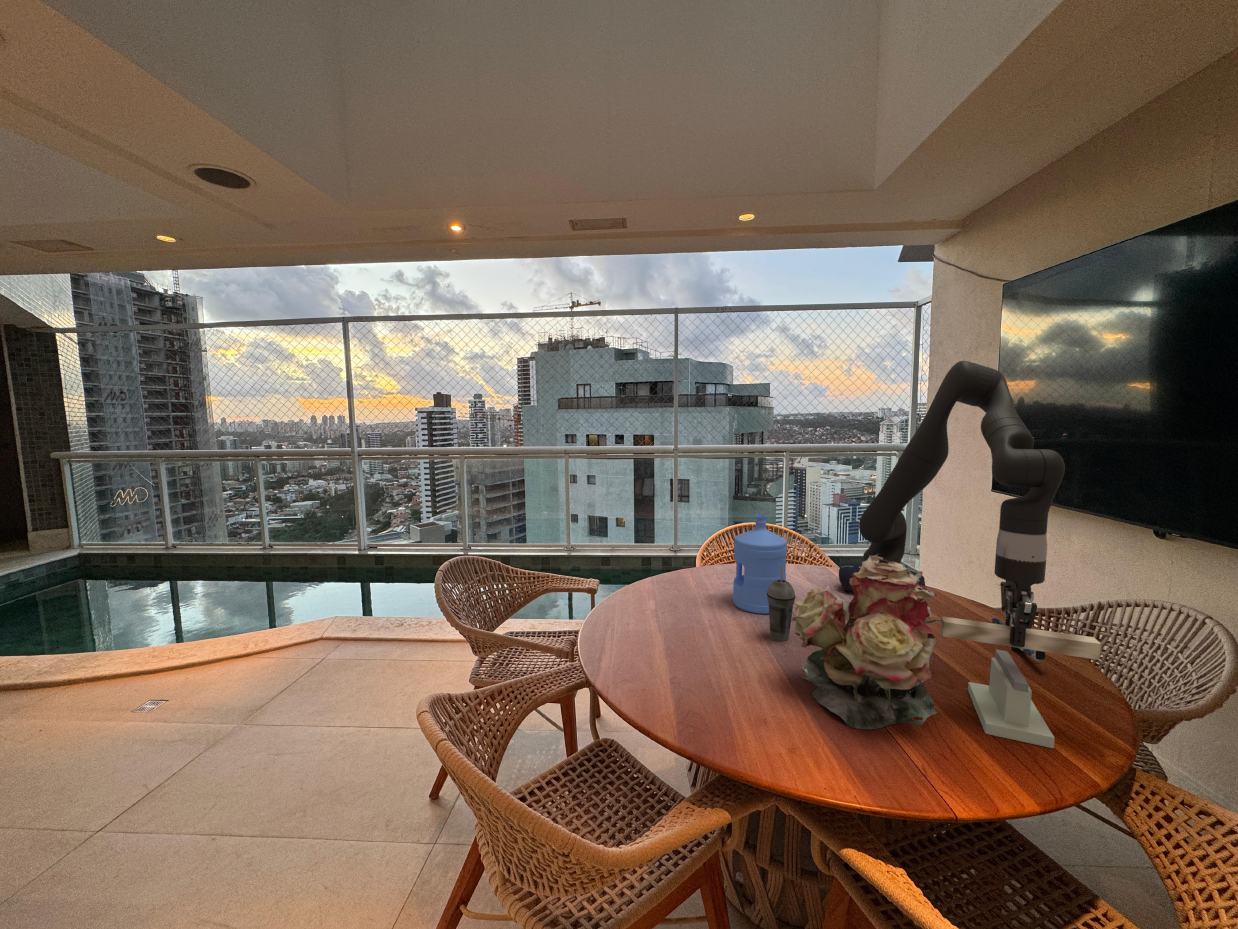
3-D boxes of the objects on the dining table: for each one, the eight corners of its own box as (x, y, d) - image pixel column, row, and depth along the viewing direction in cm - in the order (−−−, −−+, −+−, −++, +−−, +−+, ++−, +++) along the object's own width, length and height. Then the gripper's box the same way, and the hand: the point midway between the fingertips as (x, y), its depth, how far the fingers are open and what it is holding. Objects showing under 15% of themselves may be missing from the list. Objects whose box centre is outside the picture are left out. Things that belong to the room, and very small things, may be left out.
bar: (942, 636, 101) (943, 621, 101) (940, 630, 104) (941, 616, 103) (1099, 660, 91) (1101, 644, 91) (1092, 652, 94) (1093, 637, 93)
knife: (1046, 670, 114) (1047, 650, 114) (1030, 667, 115) (1031, 648, 115) (1002, 631, 143) (1003, 615, 142) (989, 629, 144) (990, 613, 144)
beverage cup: (794, 633, 136) (796, 561, 134) (794, 645, 129) (796, 569, 127) (766, 630, 139) (768, 558, 137) (764, 641, 132) (766, 566, 130)
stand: (1053, 748, 90) (1058, 692, 89) (985, 733, 94) (989, 679, 93) (1026, 701, 104) (1030, 653, 103) (967, 690, 108) (971, 643, 107)
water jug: (790, 602, 159) (793, 514, 156) (776, 619, 146) (780, 523, 143) (742, 592, 167) (744, 509, 165) (725, 608, 154) (727, 517, 151)
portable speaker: (834, 592, 168) (835, 563, 167) (841, 584, 176) (843, 556, 175) (921, 610, 153) (923, 577, 152) (925, 600, 161) (927, 569, 160)
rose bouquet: (778, 666, 119) (783, 541, 116) (904, 667, 118) (912, 541, 115) (819, 735, 93) (826, 577, 90) (980, 737, 93) (992, 578, 90)
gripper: (1059, 567, 88) (1051, 662, 89) (1033, 547, 101) (1026, 631, 102) (1006, 562, 91) (999, 654, 93) (987, 543, 104) (981, 625, 105)
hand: (1014, 641), depth 97 cm, fingers closed on bar, 3 cm apart
